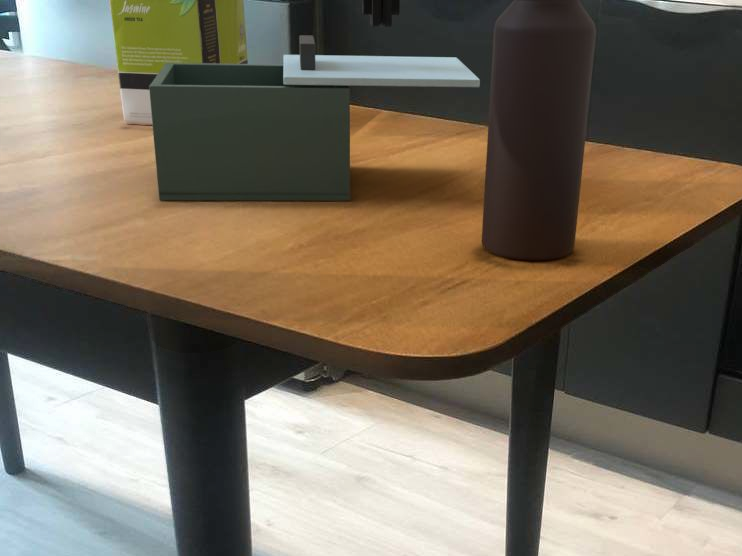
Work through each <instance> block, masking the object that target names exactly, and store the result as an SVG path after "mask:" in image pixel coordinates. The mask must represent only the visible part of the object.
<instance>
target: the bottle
mask: <svg viewBox="0 0 742 556" xmlns="http://www.w3.org/2000/svg"><path fill="white" fill-rule="evenodd" d="M493 26H494V27H493V40H492V55H491V56H492V60H491V74H490V75H491V77H490V89H489V90H490V92H489V106H488V107H489V108H488V109H489V110H488V125H487V127H488V128H487V140H486V141H487V142H486V143H487V144H486V161H485V174H484V175H485V177H484V178H485V179H484V191H483V192H484V193H483V208H482V209H483V211H482V225H481V226H482V227H481V228H482V229H481V245H482V247H483V248H484V249H485V250H486V251H487V252H488V253H490V254H493V255H494V256H498V257H501V258H505V259H511V260H512V259H513V260H517V261H518V260H519V261H531V262H532V261H533V262H535V261H536V262H537V261H539V262H540V261H552V260H557V259H562V258H564V257H567V256H568V255H569V254H571V253H572V252H573V251H574V249H575V246H576V245H575V244H576V236H577V233H576V232H577V225H578V215H579V207H580V196H581V186H582V175H583V167H584V166H583V165H584V157H585V147H586V146H585V145H586V138H587V137H586V136H587V128H588V127H587V126H588V118H589V116H588V115H589V107H590V97H591V89H592V86H591V85H592V79H593V78H592V77H593V69H594V60H595V49H596V39H597V27H596V24H595V22H594V21H593V19H592V18H591V16H590V15H589V13H588V12H587V10H586V9H585V7H584V6H583V4H582V3H581V0H513V1H512V2H511V3H510V4H509V6H508V7H507V8H506V9H505V10H504V11H503V12H502V13H501V14H500V15H499V16H498V18H497V19H496V21H495V23H494V25H493Z"/></svg>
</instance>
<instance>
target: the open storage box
mask: <svg viewBox="0 0 742 556" xmlns="http://www.w3.org/2000/svg"><path fill="white" fill-rule="evenodd" d="M283 64H284V63H282V64H281V63H280V64H279V63H277V64H276V63H248V64H223V63H165V65H164V66H163V68H162V69H161V70H160V72H159V73H158V75H157V76H156V77H155V79H154V80H153V82H152V83H151V85H150V86H149V91H150V103H151V114H152V125H151V126H152V134H153V135H152V136H153V146H154V157H155V168H156V179H157V189H158V199H159V200H158V201H166V202H167V201H171V202H173V201H175V202H176V201H177V202H178V201H179V202H180V201H181V202H183V201H190V202H192V201H193V202H194V201H199V202H200V201H203V202H204V201H205V202H206V201H207V202H208V201H209V202H213V201H215V202H216V201H218V202H226V201H227V202H233V201H234V202H241V201H242V202H244V201H245V202H249V201H250V202H256V201H257V202H292V201H293V202H300V201H301V202H312V201H313V202H350V201H351V88H350V86H341V85H284V79H283Z"/></svg>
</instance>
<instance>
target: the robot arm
mask: <svg viewBox="0 0 742 556" xmlns="http://www.w3.org/2000/svg"><path fill="white" fill-rule="evenodd" d="M400 2H401V0H361V4H362V5H361V6H362V7H361V9H362V10H361V11H362V12H361V13H362V15H366V16H369V23H370V26H371V27H372V28H374V27H375V28H378V27H379V26H384V27H386V28H392V26H393V16H400V7H401V6H400V5H401V3H400Z"/></svg>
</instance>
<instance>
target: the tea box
mask: <svg viewBox="0 0 742 556" xmlns="http://www.w3.org/2000/svg"><path fill="white" fill-rule="evenodd" d="M108 2H109V9H110V15H111V22H112V36H113V42H114V43H113V44H114V49H115V56H116V69H117V75H118V82H119V90H120V91H119V93H120V99H121V101H120V102H121V108H122V115H123V121H124V123H126V124H127V125H139V126H153V125H152V114H151V103H150V91H149V86H150V85H151V83H152V82H153V80H154V79H155V77H156V76H157V75H158V73H159V72H160V70H161V69H162V68H163V66H164V65H165V63H223V64H249V62H248V61H249V60H248V47H247V45H248V43H247V34H246V33H247V32H246V20H245V5H244V0H108Z"/></svg>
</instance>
